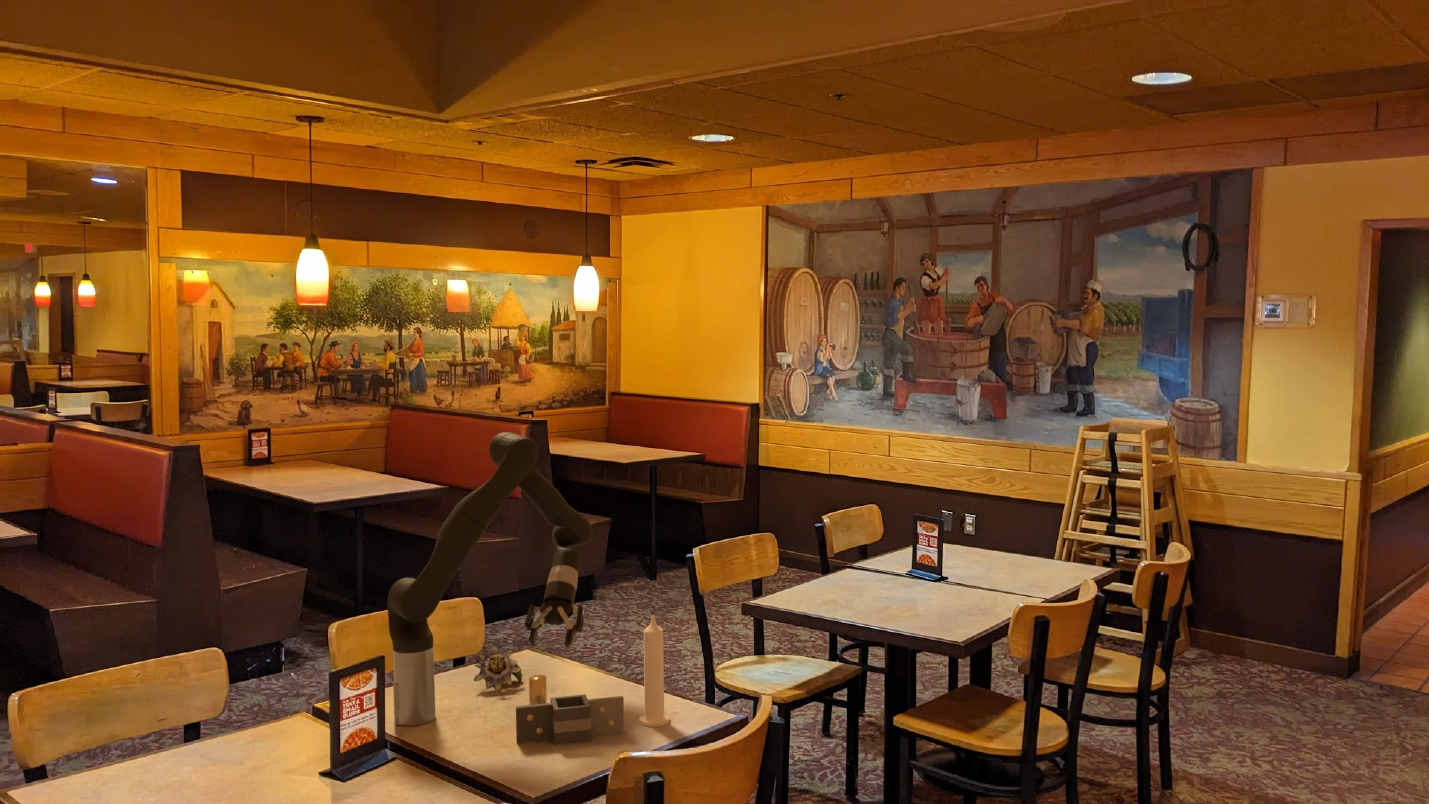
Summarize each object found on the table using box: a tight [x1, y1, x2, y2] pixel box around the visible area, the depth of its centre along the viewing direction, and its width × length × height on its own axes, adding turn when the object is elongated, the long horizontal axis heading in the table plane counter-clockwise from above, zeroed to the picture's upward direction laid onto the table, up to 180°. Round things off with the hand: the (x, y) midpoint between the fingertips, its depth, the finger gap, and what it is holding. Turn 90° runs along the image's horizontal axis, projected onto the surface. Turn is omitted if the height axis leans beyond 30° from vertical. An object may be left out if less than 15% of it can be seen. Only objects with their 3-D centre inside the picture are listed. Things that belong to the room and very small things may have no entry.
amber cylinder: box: [528, 674, 548, 705], centre depth 251 cm, size 4×4×10 cm
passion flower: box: [473, 646, 523, 692], centre depth 275 cm, size 11×11×12 cm
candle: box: [638, 615, 671, 728], centre depth 248 cm, size 7×7×25 cm
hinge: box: [515, 693, 625, 746], centre depth 240 cm, size 24×8×8 cm, turn 105°
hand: (549, 645), depth 261 cm, fingers open, 8 cm apart
